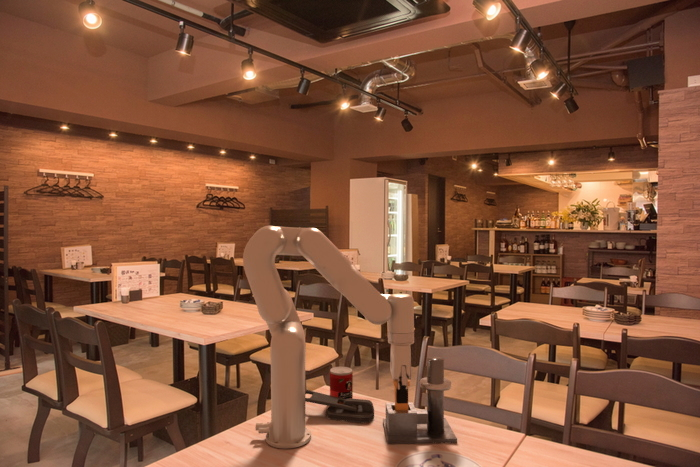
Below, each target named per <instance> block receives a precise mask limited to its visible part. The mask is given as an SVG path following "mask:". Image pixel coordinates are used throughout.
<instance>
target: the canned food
mask: <svg viewBox="0 0 700 467" xmlns="http://www.w3.org/2000/svg"><path fill="white" fill-rule="evenodd" d="M353 374H354V373H353V369H352V368H351V367H348V366H334V367H332V368H330V369H329V395H330V396H334V397H338V398H343V399H354V398H353V392H354V391H353V388H354V386H353V385H354V383H353V382H354V381H353V380H354V379H353V378H354V377H353ZM338 404H343V403H342V402H338Z"/></svg>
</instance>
